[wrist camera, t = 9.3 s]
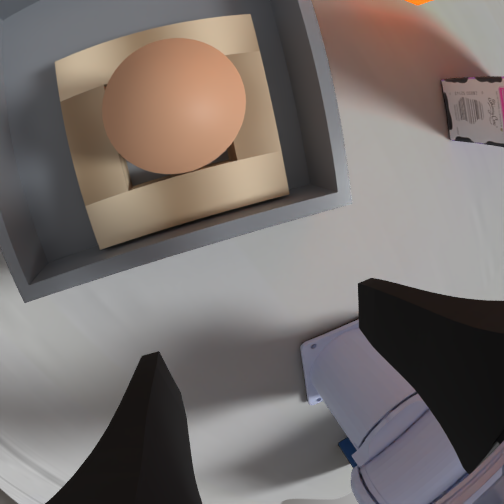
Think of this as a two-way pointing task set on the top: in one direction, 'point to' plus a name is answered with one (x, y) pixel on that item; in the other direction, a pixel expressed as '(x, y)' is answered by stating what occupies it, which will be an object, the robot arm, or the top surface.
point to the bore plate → (175, 185)
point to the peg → (173, 106)
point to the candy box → (475, 109)
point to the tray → (64, 176)
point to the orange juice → (418, 1)
